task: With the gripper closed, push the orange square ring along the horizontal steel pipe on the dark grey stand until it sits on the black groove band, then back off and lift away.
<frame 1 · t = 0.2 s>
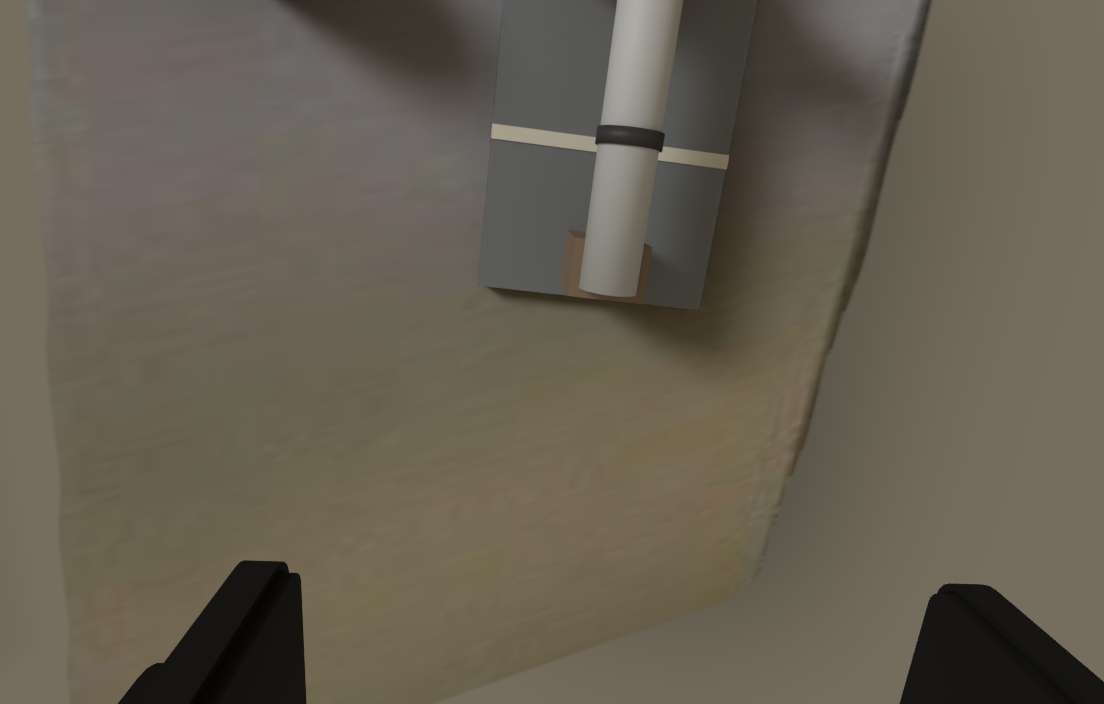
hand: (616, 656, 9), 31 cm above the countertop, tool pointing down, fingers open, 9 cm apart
pipe stand: (617, 77, 35), on the countertop
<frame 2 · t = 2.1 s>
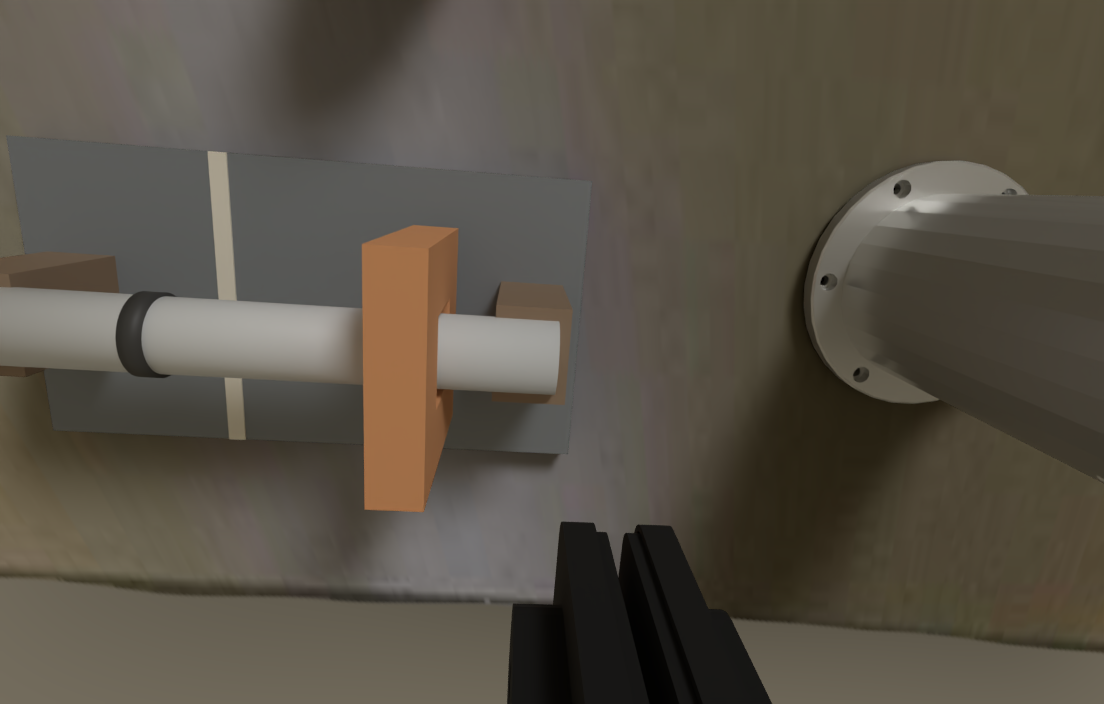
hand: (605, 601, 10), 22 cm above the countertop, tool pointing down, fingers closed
pipe stand: (323, 304, 30), on the countertop
orange square ring: (417, 349, 24), point 8 cm above the countertop, slide at 0.0 cm
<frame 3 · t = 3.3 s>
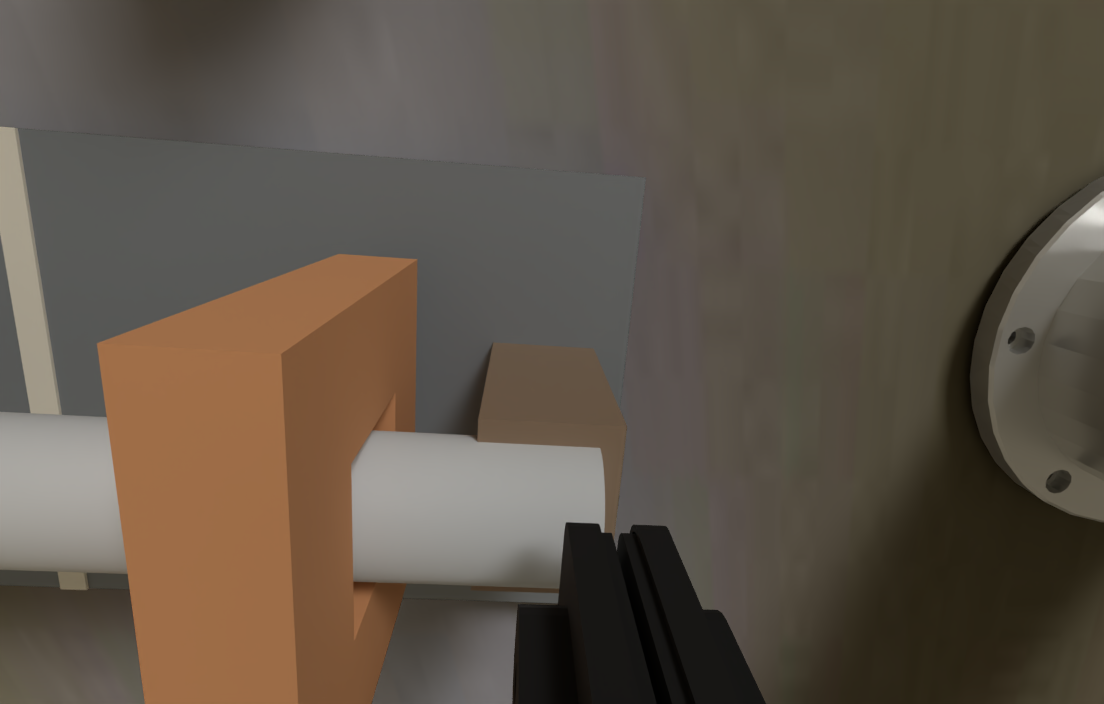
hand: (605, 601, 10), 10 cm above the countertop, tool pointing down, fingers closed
pipe stand: (210, 374, 19), on the countertop
orange square ring: (327, 502, 12), point 8 cm above the countertop, slide at 0.0 cm
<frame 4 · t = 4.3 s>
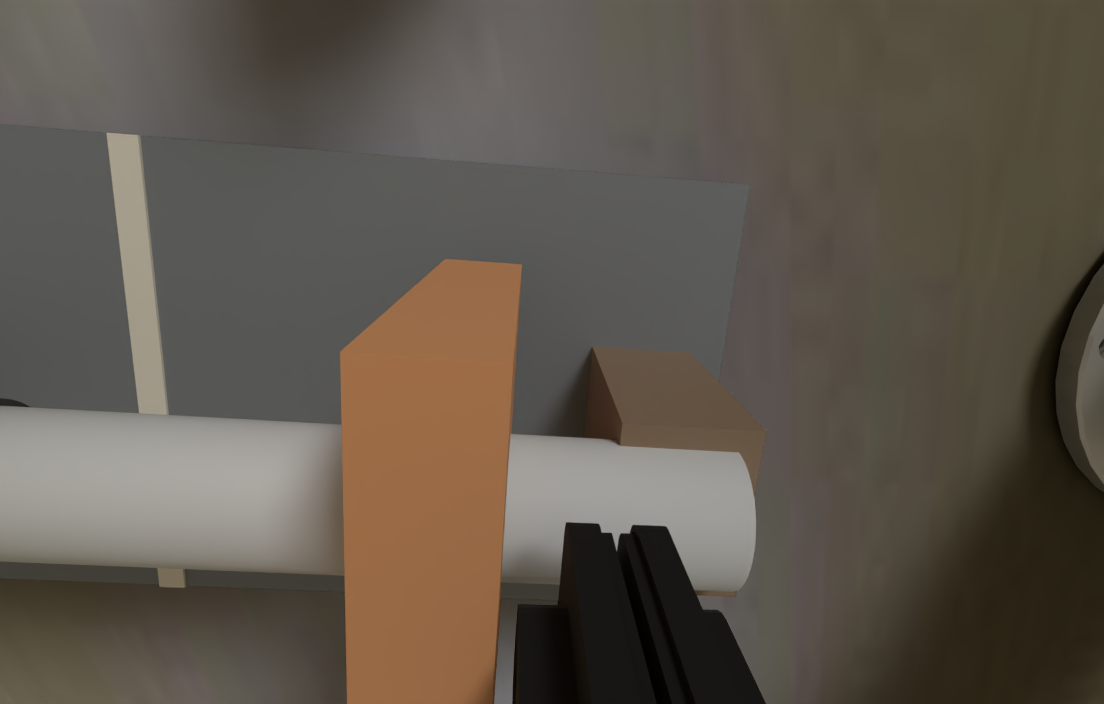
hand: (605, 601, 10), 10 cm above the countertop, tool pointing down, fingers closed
pipe stand: (307, 376, 19), on the countertop
orange square ring: (458, 503, 12), point 8 cm above the countertop, slide at 0.3 cm, touching gripper
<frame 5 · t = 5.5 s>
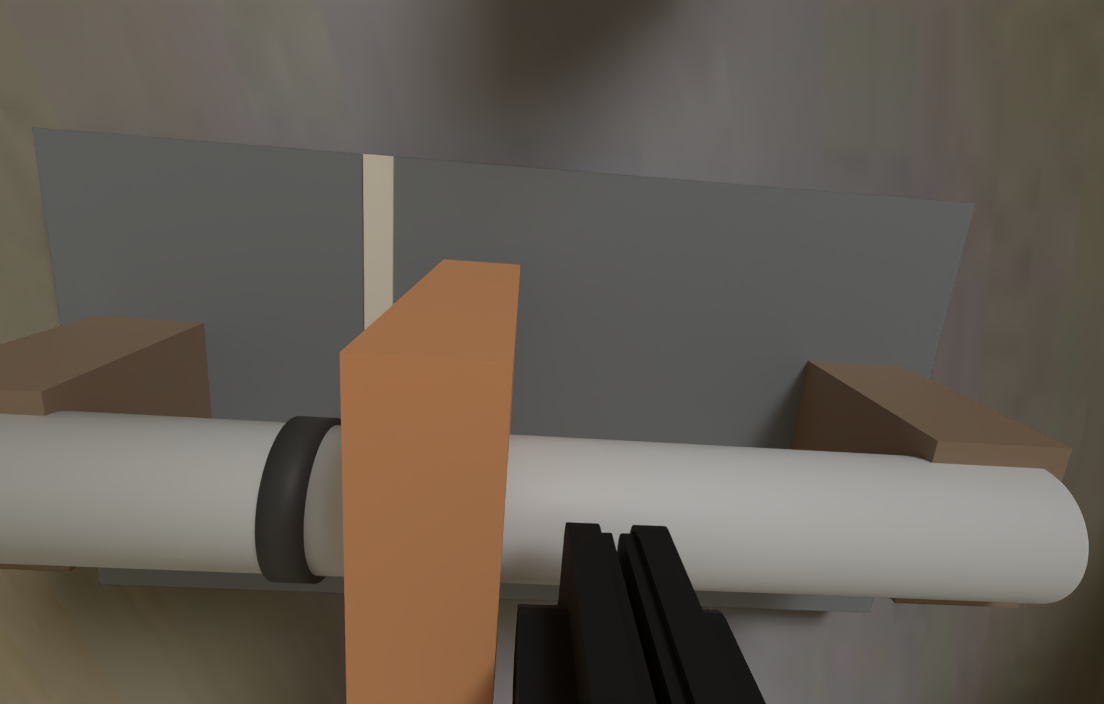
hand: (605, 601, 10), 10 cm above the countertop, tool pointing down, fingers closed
pipe stand: (512, 388, 20), on the countertop
orange square ring: (457, 504, 12), point 7 cm above the countertop, slide at 7.0 cm, touching gripper
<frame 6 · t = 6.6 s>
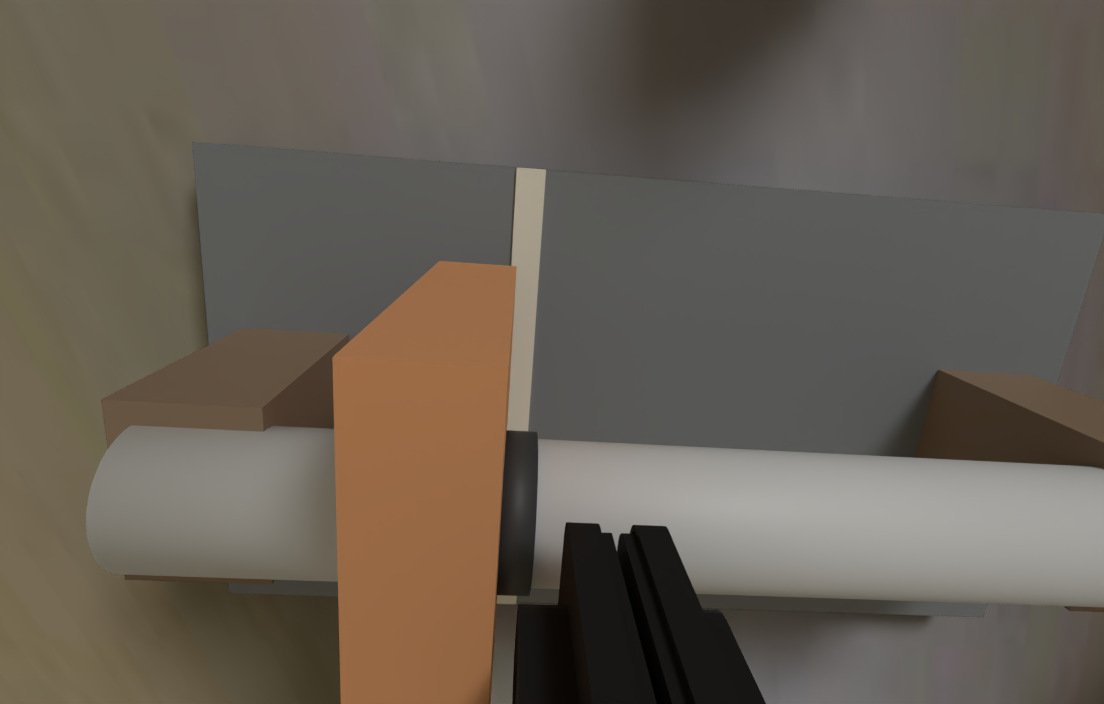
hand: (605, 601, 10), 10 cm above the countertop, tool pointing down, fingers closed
pipe stand: (636, 397, 20), on the countertop
orange square ring: (453, 507, 12), point 8 cm above the countertop, slide at 11.2 cm, touching gripper
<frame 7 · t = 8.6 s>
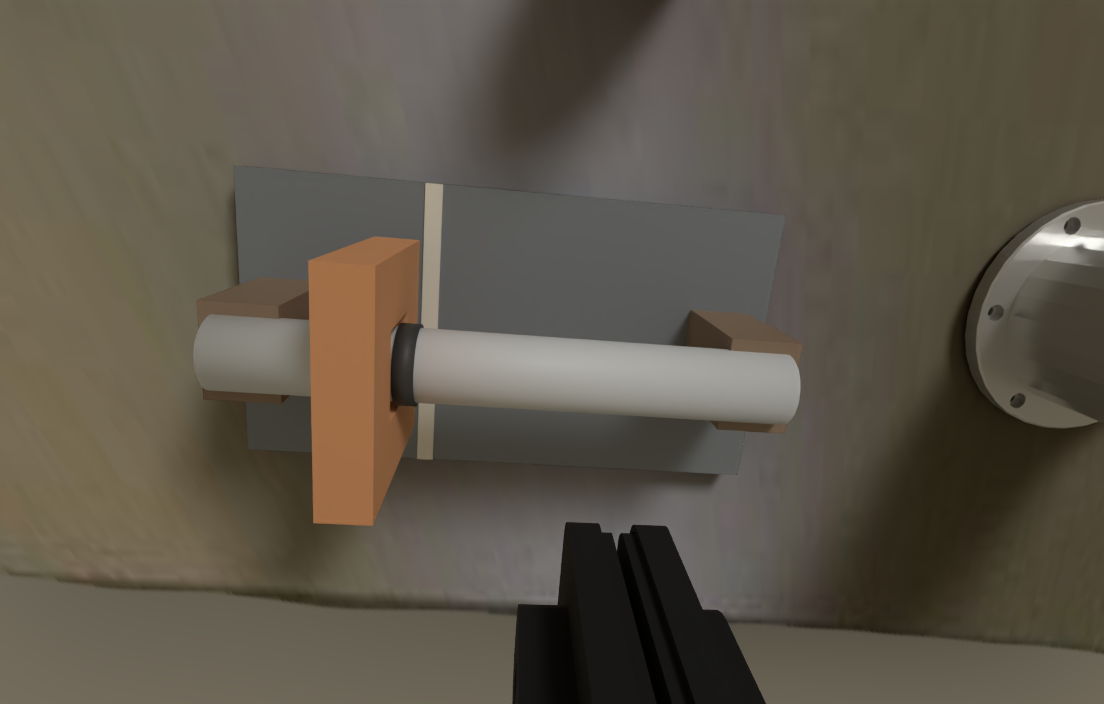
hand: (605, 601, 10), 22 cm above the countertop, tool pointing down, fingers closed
pipe stand: (510, 328, 31), on the countertop
orange square ring: (373, 362, 24), point 8 cm above the countertop, slide at 11.4 cm
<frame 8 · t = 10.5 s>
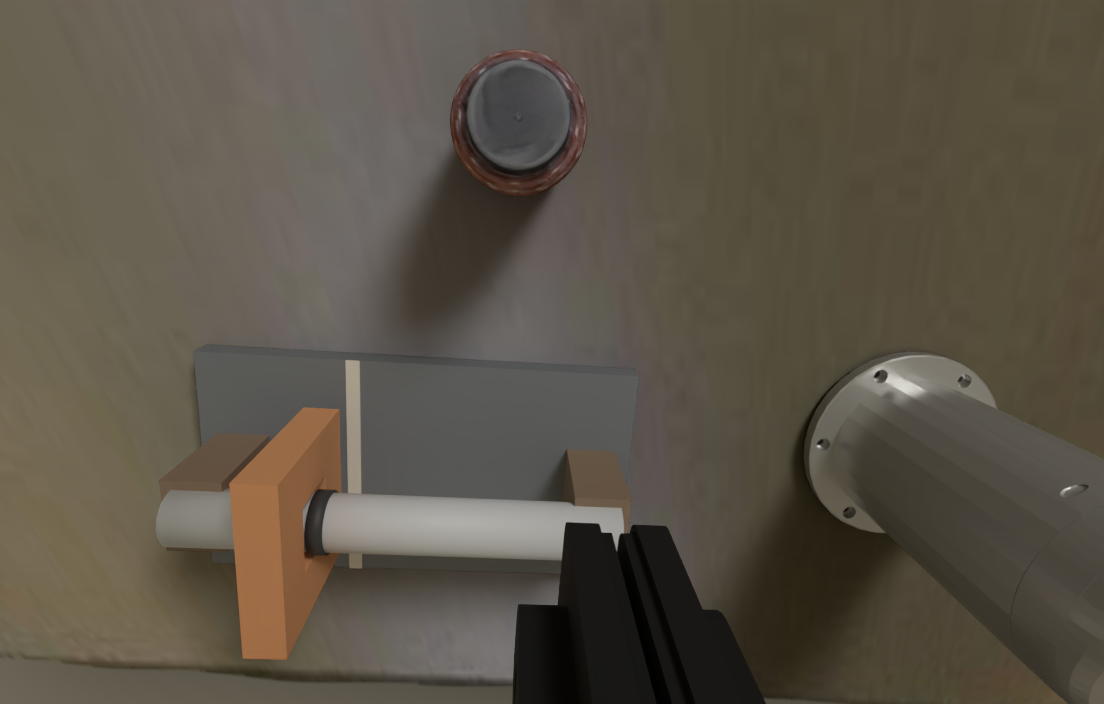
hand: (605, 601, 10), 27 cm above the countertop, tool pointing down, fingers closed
pipe stand: (423, 461, 38), on the countertop
orange square ring: (296, 520, 31), point 8 cm above the countertop, slide at 11.4 cm
supplement bottle: (519, 140, 34), on the countertop
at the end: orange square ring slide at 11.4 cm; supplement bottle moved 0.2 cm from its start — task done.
